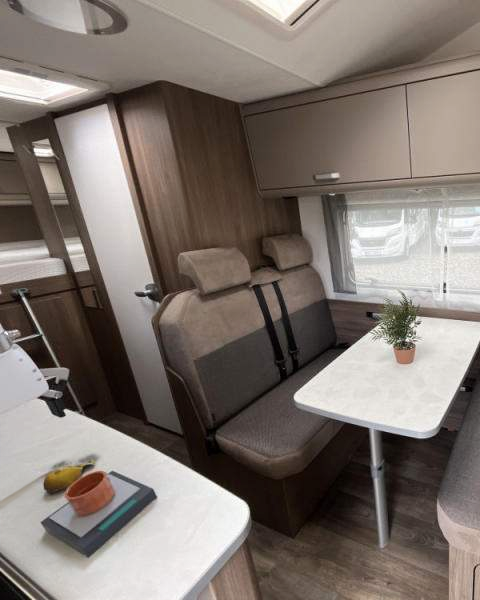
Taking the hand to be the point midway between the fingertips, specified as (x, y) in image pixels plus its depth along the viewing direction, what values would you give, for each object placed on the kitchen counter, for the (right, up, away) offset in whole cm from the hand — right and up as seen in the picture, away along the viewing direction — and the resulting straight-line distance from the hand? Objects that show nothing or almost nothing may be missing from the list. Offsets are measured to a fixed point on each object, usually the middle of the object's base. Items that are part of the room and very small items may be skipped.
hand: (24, 433), depth 56 cm
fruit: (-9, -17, +17) cm, 25 cm away
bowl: (+6, -17, +7) cm, 19 cm away
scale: (+7, -20, +8) cm, 22 cm away
